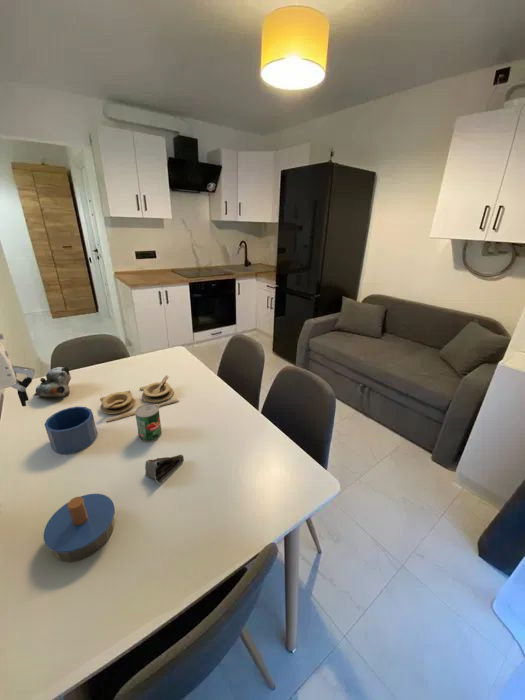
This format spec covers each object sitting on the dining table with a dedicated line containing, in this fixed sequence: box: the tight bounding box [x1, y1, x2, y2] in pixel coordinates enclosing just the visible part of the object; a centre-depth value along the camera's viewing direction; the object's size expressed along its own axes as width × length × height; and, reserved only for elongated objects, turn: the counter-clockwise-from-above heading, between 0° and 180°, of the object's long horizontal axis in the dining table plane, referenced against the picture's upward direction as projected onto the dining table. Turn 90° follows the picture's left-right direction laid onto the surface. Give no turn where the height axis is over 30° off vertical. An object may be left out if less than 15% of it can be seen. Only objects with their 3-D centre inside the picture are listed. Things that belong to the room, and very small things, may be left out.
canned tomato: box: [134, 403, 163, 443], centre depth 104 cm, size 8×8×11 cm
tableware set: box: [99, 375, 179, 423], centre depth 125 cm, size 30×20×6 cm, turn 124°
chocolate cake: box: [144, 454, 185, 486], centre depth 91 cm, size 10×7×12 cm
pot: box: [44, 406, 98, 455], centre depth 100 cm, size 14×14×10 cm
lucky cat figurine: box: [33, 366, 72, 398], centre depth 126 cm, size 15×12×14 cm
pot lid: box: [43, 493, 116, 553], centre depth 70 cm, size 15×15×7 cm
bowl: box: [51, 516, 115, 563], centre depth 72 cm, size 13×13×4 cm
